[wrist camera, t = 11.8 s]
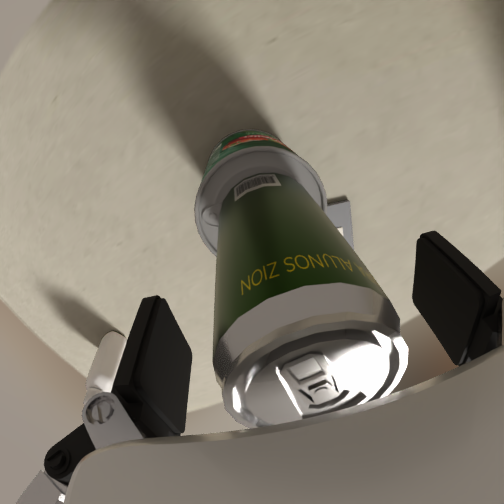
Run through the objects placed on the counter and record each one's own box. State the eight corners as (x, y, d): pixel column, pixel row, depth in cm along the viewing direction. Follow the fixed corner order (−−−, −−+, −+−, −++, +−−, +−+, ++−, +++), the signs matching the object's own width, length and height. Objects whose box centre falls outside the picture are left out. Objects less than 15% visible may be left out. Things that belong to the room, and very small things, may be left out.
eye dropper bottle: (138, 349, 37) (119, 424, 26) (108, 358, 37) (87, 427, 27) (118, 327, 35) (93, 403, 24) (89, 337, 35) (62, 407, 25)
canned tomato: (291, 127, 25) (331, 145, 16) (292, 208, 29) (324, 266, 19) (203, 132, 25) (186, 152, 15) (210, 213, 29) (202, 276, 19)
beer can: (201, 199, 17) (165, 374, 6) (286, 152, 16) (398, 265, 5) (248, 269, 19) (271, 451, 9) (324, 229, 18) (421, 388, 8)
